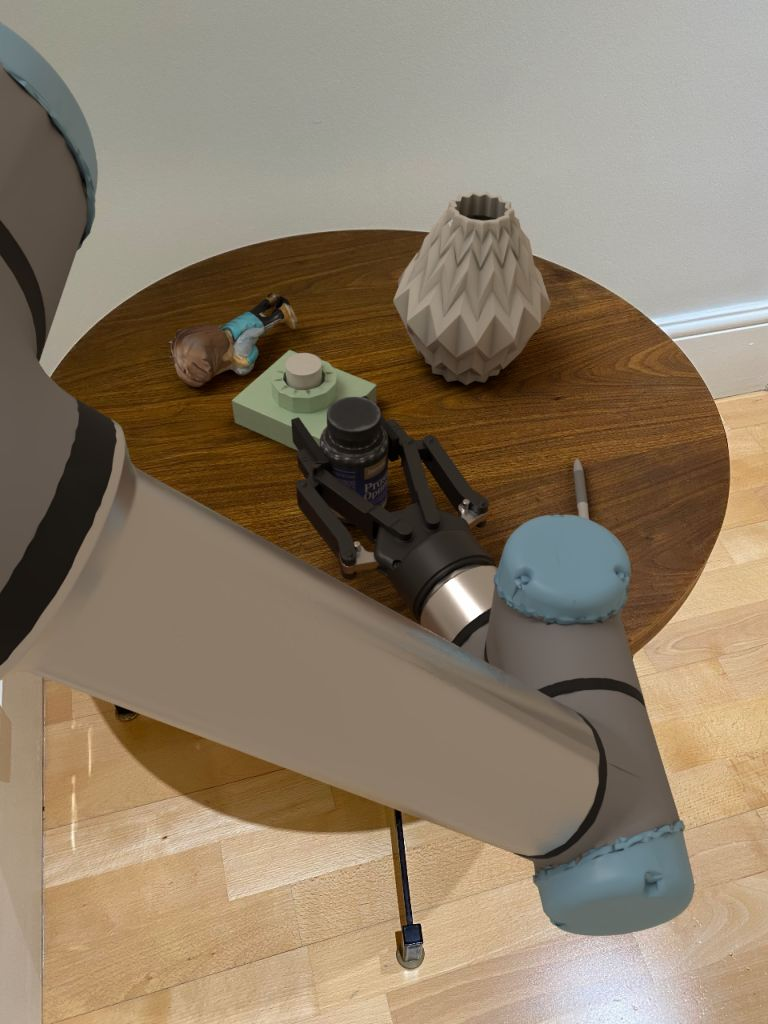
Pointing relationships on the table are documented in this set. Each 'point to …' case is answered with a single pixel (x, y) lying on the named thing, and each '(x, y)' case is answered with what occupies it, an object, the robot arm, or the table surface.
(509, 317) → the vase
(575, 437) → the table surface
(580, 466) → the pen
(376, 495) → the pill bottle
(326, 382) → the green base with collar
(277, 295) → the figurine
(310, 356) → the cylinder peg
